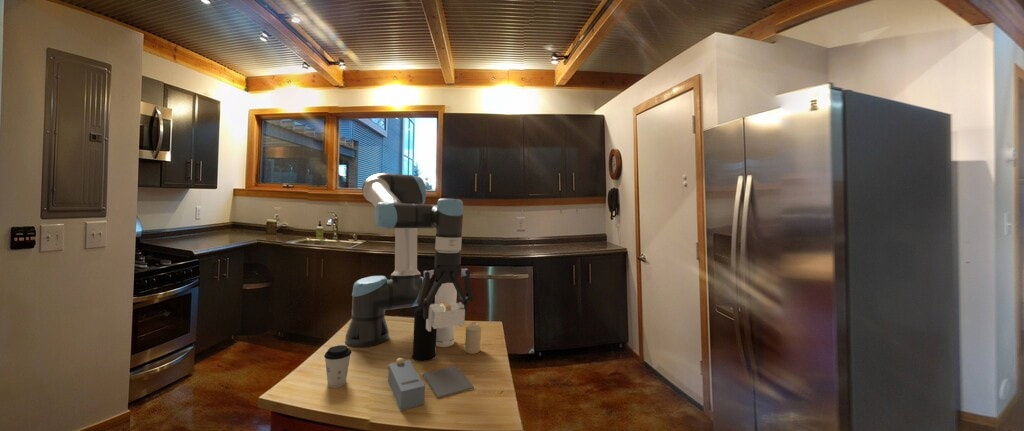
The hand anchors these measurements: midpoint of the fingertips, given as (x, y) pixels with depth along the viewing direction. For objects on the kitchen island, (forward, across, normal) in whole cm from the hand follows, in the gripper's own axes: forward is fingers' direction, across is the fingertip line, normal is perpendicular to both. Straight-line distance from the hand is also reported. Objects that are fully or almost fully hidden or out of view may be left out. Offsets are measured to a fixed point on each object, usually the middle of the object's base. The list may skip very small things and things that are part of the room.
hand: (444, 327), depth 96 cm
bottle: (+17, +10, +28) cm, 34 cm away
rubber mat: (+17, +2, 0) cm, 17 cm away
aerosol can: (+17, 0, +19) cm, 25 cm away
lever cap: (-2, 0, 0) cm, 2 cm away
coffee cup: (+17, -27, +12) cm, 34 cm away
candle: (+17, +17, +17) cm, 29 cm away
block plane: (+17, -11, 0) cm, 20 cm away
